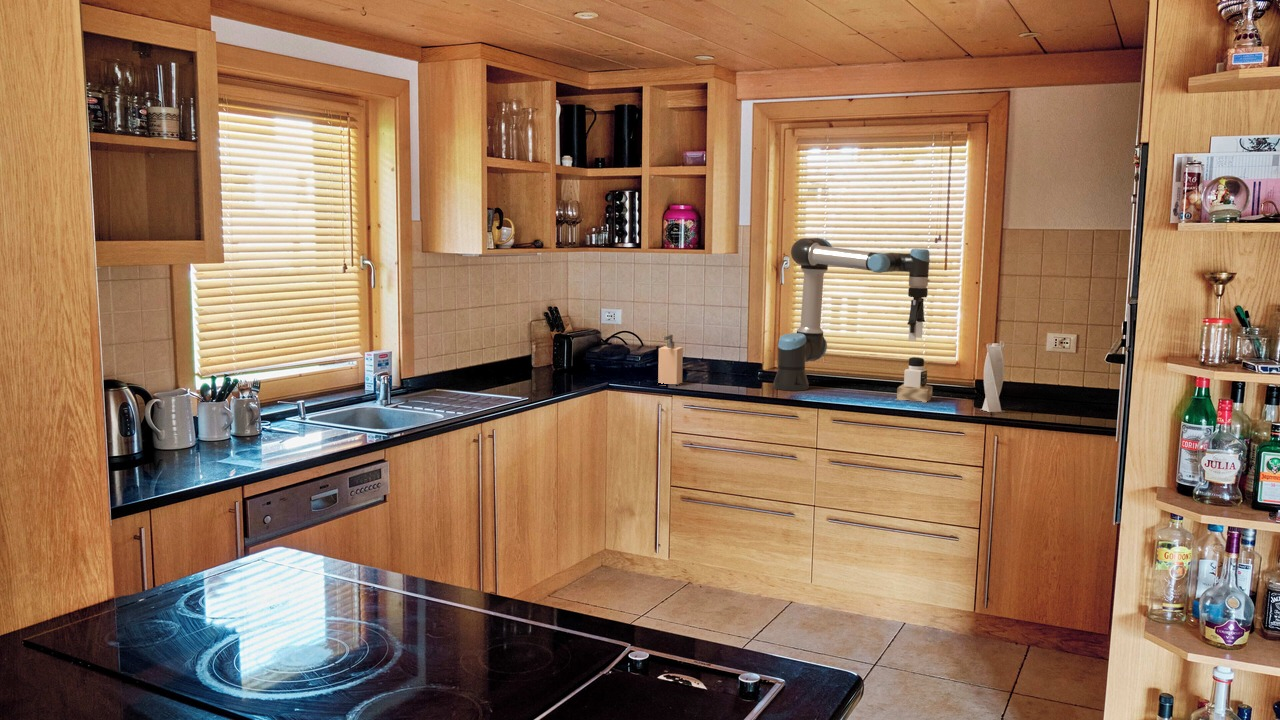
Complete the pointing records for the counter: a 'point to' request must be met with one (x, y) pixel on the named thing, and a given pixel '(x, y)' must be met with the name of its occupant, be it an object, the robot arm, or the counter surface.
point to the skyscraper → (993, 377)
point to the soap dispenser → (670, 363)
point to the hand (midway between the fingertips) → (915, 339)
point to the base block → (914, 393)
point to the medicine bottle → (915, 373)
